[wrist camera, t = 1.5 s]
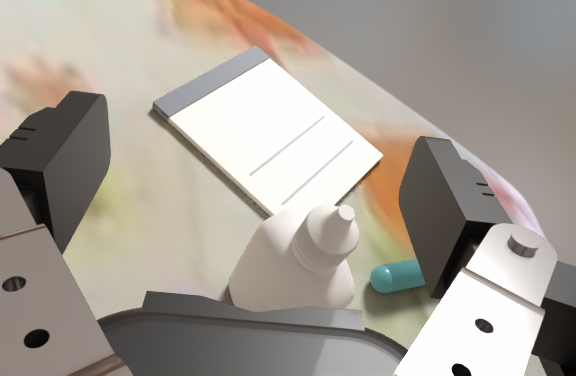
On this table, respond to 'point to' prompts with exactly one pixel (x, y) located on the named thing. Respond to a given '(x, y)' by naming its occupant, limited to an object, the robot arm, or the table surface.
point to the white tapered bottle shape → (297, 261)
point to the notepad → (269, 134)
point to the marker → (397, 276)
